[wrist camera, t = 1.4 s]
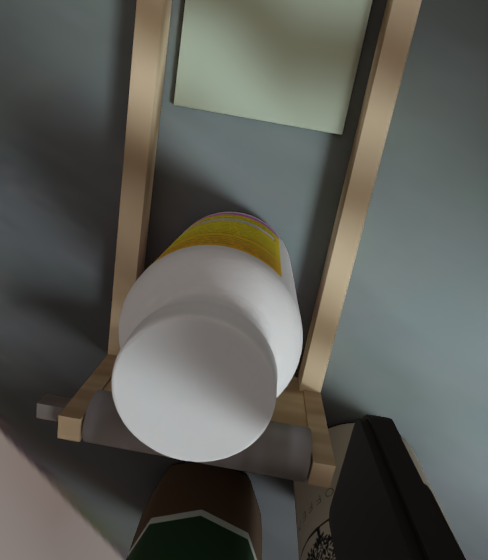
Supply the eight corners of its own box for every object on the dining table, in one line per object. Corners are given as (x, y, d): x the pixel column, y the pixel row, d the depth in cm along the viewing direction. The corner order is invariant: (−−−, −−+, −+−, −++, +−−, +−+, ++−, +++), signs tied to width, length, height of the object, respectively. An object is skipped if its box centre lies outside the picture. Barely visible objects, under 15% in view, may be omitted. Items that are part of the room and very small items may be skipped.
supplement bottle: (154, 234, 24) (30, 324, 11) (266, 191, 23) (262, 238, 10) (200, 337, 25) (136, 513, 13) (306, 302, 24) (344, 457, 12)
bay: (130, -178, 18) (42, -386, 11) (444, -123, 18) (555, -297, 11) (92, 364, 26) (26, 443, 19) (311, 404, 26) (326, 498, 19)
